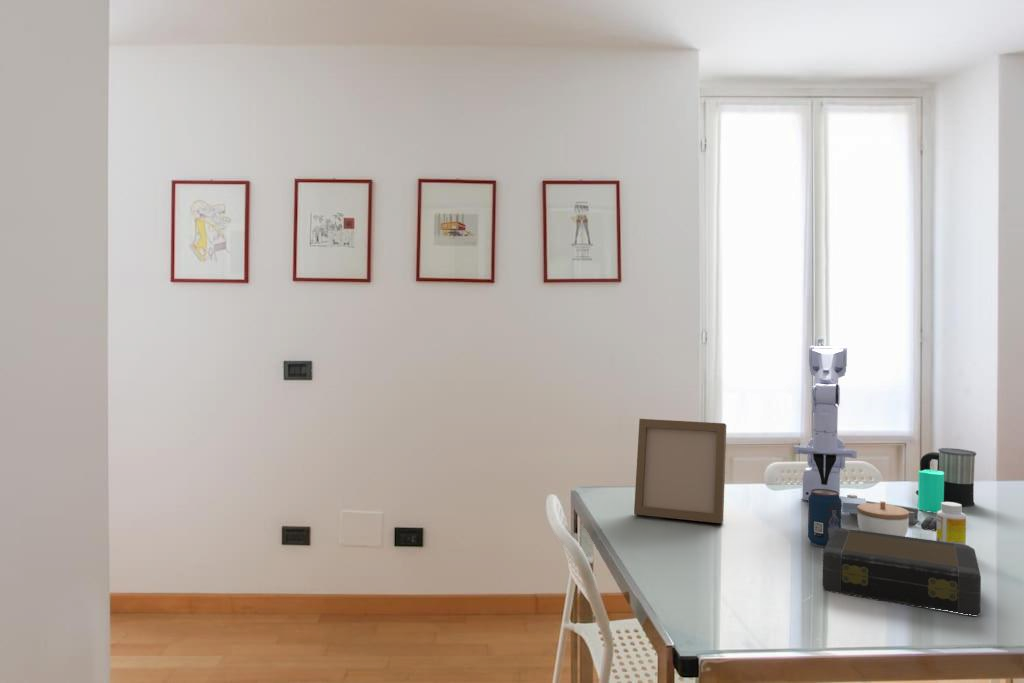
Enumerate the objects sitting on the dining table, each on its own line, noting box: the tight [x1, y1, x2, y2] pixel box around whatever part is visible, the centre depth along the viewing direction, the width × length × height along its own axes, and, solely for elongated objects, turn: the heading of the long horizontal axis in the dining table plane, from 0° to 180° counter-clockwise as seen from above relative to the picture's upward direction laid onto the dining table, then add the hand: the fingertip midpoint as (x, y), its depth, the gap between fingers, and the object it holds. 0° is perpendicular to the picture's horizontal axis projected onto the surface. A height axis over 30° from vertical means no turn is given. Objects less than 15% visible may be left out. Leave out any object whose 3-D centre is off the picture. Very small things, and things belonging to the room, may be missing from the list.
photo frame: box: [633, 418, 727, 524], centre depth 185 cm, size 15×22×25 cm
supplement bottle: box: [935, 502, 967, 545], centre depth 158 cm, size 6×6×10 cm
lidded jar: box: [856, 500, 910, 537], centre depth 163 cm, size 11×11×9 cm
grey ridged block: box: [920, 515, 937, 530], centre depth 177 cm, size 5×9×2 cm, turn 141°
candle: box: [917, 465, 944, 513], centre depth 192 cm, size 6×6×12 cm
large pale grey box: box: [848, 500, 919, 526], centre depth 185 cm, size 16×6×3 cm, turn 51°
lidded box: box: [840, 494, 867, 514], centre depth 183 cm, size 16×6×2 cm, turn 158°
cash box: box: [821, 527, 982, 616], centre depth 135 cm, size 25×20×8 cm
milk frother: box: [915, 447, 977, 507], centre depth 200 cm, size 14×16×15 cm
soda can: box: [807, 489, 842, 548], centre depth 161 cm, size 7×7×12 cm
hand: (824, 484), depth 181 cm, fingers closed
